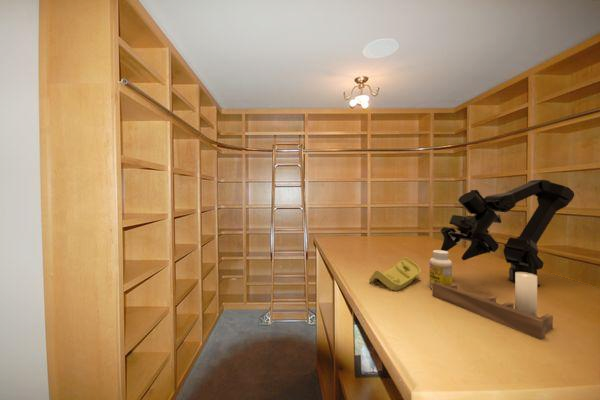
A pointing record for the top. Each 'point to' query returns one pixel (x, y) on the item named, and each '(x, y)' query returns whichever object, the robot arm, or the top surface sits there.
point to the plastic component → (398, 274)
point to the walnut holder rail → (495, 310)
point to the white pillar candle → (526, 292)
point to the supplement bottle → (440, 268)
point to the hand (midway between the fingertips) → (451, 255)
